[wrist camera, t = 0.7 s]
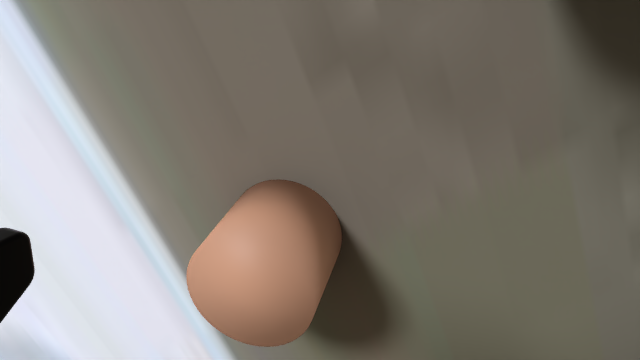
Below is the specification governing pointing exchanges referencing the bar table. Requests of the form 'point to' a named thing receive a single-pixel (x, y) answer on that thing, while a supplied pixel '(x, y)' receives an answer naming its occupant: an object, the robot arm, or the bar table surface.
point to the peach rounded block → (266, 264)
